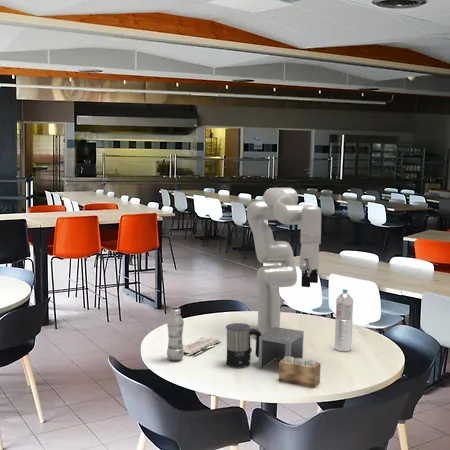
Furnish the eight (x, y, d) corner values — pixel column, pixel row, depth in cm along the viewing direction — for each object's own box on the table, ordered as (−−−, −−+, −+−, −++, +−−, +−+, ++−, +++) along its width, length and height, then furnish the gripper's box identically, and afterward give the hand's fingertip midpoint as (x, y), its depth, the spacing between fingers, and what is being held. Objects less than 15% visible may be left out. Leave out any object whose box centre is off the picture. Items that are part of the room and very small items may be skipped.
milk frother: (232, 369, 233) (233, 330, 232) (213, 357, 247) (214, 320, 245) (265, 364, 240) (266, 326, 238) (245, 352, 254) (246, 316, 252)
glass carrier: (278, 381, 222) (279, 359, 221) (285, 375, 228) (285, 354, 227) (314, 387, 217) (315, 365, 216) (319, 382, 222) (320, 360, 221)
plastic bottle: (186, 358, 245) (186, 307, 243) (179, 363, 239) (180, 311, 237) (171, 356, 247) (171, 306, 245) (163, 361, 241) (164, 310, 239)
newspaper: (194, 358, 247) (194, 352, 246) (169, 356, 253) (169, 350, 253) (225, 344, 266) (225, 338, 266) (201, 342, 272) (201, 336, 272)
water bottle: (351, 352, 256) (353, 291, 253) (334, 351, 257) (336, 290, 254) (351, 347, 263) (353, 288, 260) (334, 346, 264) (336, 287, 261)
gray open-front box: (258, 368, 235) (259, 336, 234) (273, 357, 248) (274, 326, 247) (288, 374, 230) (289, 341, 228) (302, 362, 243) (303, 331, 242)
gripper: (307, 236, 246) (307, 280, 247) (293, 241, 230) (292, 287, 232) (326, 237, 243) (325, 282, 244) (313, 242, 227) (312, 289, 229)
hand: (309, 284), depth 238 cm, fingers open, 9 cm apart
